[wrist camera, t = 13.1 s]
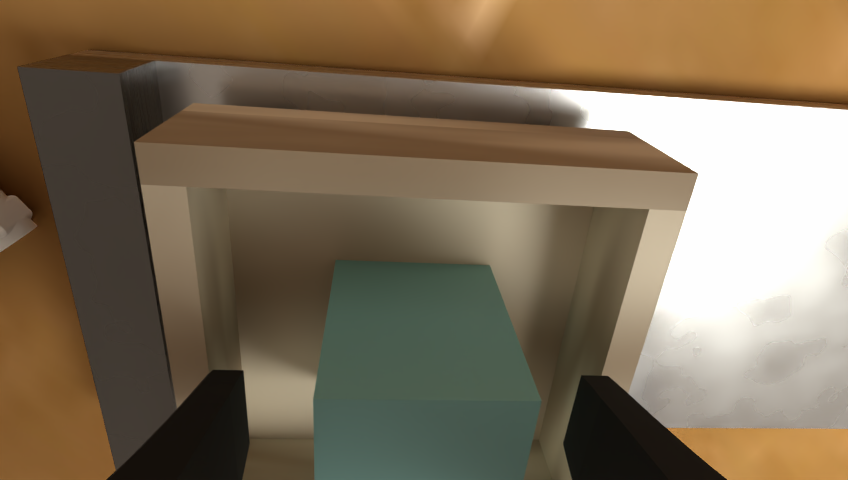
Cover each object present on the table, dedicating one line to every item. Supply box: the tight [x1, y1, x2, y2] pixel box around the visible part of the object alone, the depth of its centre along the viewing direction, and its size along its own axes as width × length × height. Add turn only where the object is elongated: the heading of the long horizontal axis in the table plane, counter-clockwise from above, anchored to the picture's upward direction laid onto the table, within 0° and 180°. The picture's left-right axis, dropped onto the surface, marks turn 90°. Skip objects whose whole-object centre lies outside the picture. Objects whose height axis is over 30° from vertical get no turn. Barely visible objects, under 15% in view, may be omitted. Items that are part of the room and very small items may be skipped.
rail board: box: [17, 50, 848, 470], centre depth 16 cm, size 12×27×3 cm, turn 85°
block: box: [313, 260, 542, 480], centre depth 12 cm, size 4×4×5 cm
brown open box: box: [134, 103, 699, 480], centre depth 14 cm, size 11×11×4 cm
